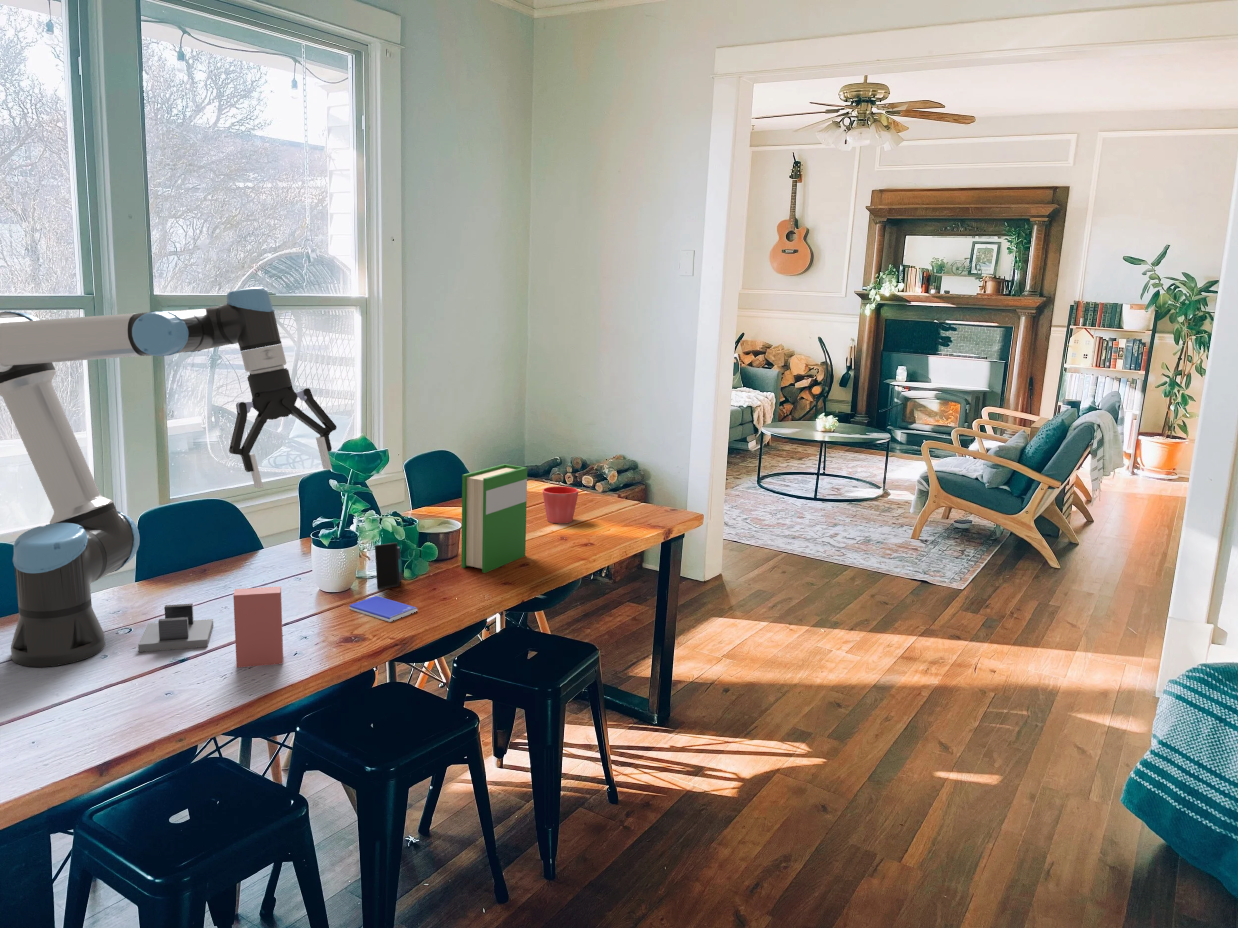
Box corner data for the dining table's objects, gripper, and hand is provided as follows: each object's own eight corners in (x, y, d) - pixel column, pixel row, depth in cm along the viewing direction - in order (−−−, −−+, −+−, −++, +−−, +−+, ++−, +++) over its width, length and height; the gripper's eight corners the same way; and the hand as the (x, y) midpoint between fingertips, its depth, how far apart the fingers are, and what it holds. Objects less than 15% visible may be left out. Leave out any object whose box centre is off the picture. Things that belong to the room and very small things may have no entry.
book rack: (138, 651, 175) (136, 624, 174) (148, 630, 185) (146, 604, 184) (207, 646, 179) (206, 619, 177) (213, 625, 189) (212, 600, 188)
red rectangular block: (236, 667, 170) (233, 595, 167) (237, 659, 173) (234, 589, 170) (282, 663, 172) (280, 592, 170) (283, 656, 176) (280, 586, 173)
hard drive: (417, 606, 202) (377, 594, 208) (389, 617, 195) (349, 604, 201) (417, 613, 202) (377, 601, 208) (389, 624, 195) (349, 611, 202)
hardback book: (485, 572, 230) (486, 479, 225) (461, 567, 233) (462, 474, 228) (525, 555, 245) (527, 467, 240) (502, 551, 248) (504, 463, 243)
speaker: (402, 587, 216) (400, 544, 214) (377, 589, 214) (374, 545, 213) (402, 580, 223) (400, 538, 222) (378, 582, 222) (375, 539, 220)
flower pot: (541, 515, 286) (542, 485, 284) (576, 516, 287) (577, 486, 286) (542, 524, 276) (542, 493, 274) (578, 525, 277) (579, 493, 275)
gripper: (203, 383, 165) (234, 496, 169) (336, 357, 179) (361, 462, 183) (193, 384, 171) (223, 494, 175) (323, 359, 185) (347, 461, 189)
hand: (294, 478), depth 179 cm, fingers open, 13 cm apart
